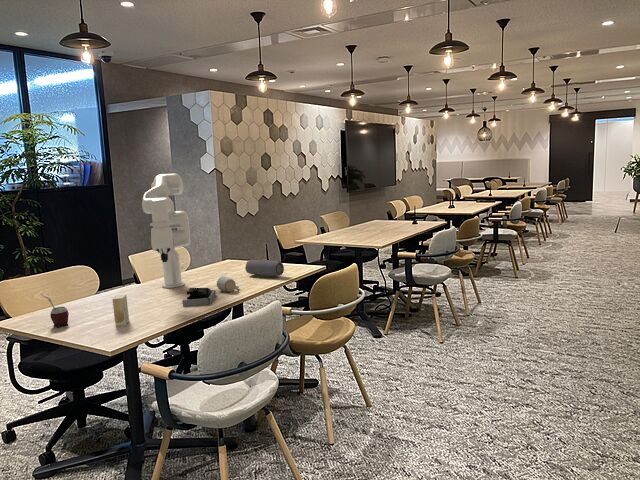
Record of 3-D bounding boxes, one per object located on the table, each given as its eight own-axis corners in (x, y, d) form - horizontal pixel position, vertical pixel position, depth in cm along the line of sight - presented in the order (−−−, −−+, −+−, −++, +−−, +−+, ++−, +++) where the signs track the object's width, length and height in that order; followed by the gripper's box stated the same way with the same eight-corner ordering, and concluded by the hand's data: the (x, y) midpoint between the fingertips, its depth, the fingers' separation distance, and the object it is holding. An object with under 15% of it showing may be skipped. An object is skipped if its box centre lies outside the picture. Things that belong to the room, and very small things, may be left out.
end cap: (211, 299, 255) (210, 286, 255) (205, 303, 249) (204, 289, 248) (193, 299, 258) (192, 286, 257) (186, 303, 251) (185, 289, 250)
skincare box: (119, 322, 224) (116, 295, 223) (129, 321, 225) (126, 294, 223) (115, 326, 218) (111, 298, 216) (125, 325, 218) (122, 297, 217)
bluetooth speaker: (285, 276, 301) (284, 259, 300) (275, 279, 294) (274, 262, 292) (255, 273, 314) (254, 257, 312) (245, 277, 306) (244, 260, 305)
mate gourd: (72, 323, 227) (68, 290, 225) (64, 328, 219) (60, 294, 217) (55, 324, 227) (51, 291, 225) (46, 329, 219) (42, 295, 217)
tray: (190, 297, 263) (190, 291, 262) (215, 295, 263) (215, 289, 263) (182, 306, 245) (182, 300, 244) (210, 304, 245) (209, 298, 245)
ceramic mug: (225, 293, 266) (224, 279, 265) (216, 291, 272) (215, 277, 271) (242, 290, 273) (241, 275, 272) (233, 288, 279) (232, 274, 278)
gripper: (143, 226, 244) (147, 264, 247) (174, 224, 245) (178, 262, 248) (147, 224, 251) (151, 261, 254) (178, 222, 252) (181, 259, 255)
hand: (164, 261), depth 251 cm, fingers closed
